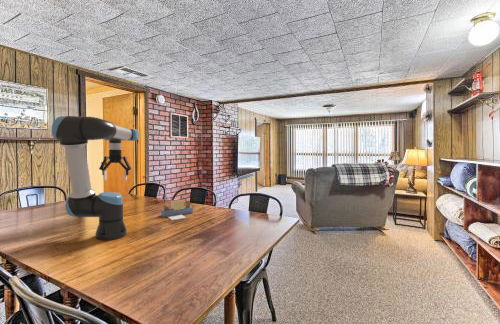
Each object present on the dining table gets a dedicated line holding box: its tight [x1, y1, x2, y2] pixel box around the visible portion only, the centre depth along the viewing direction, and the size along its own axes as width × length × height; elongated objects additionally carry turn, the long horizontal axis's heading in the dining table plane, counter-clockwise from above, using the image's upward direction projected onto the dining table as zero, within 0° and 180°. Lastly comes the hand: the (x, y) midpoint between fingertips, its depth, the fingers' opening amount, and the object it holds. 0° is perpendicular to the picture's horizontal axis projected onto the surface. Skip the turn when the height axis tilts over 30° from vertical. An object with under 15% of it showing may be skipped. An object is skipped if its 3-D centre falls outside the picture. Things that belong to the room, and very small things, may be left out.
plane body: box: [160, 200, 194, 218], centre depth 187 cm, size 5×22×9 cm, turn 126°
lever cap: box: [170, 199, 185, 210], centre depth 187 cm, size 6×8×6 cm
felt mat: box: [167, 214, 187, 221], centre depth 176 cm, size 9×10×1 cm
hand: (115, 180), depth 176 cm, fingers open, 13 cm apart
